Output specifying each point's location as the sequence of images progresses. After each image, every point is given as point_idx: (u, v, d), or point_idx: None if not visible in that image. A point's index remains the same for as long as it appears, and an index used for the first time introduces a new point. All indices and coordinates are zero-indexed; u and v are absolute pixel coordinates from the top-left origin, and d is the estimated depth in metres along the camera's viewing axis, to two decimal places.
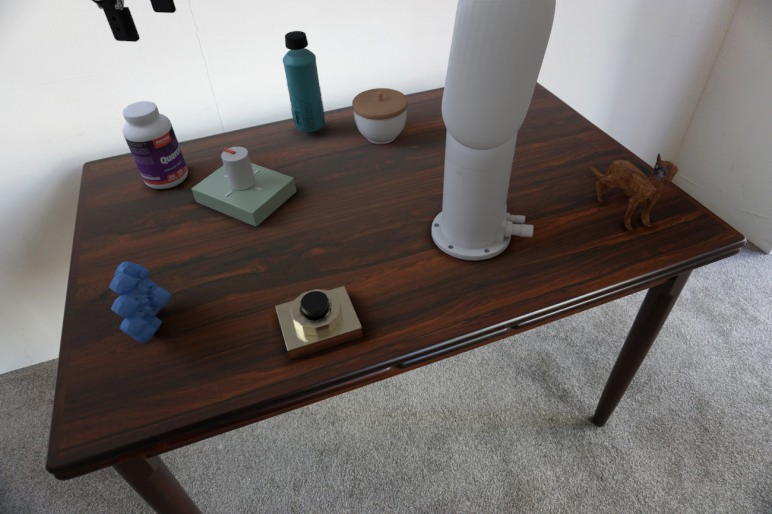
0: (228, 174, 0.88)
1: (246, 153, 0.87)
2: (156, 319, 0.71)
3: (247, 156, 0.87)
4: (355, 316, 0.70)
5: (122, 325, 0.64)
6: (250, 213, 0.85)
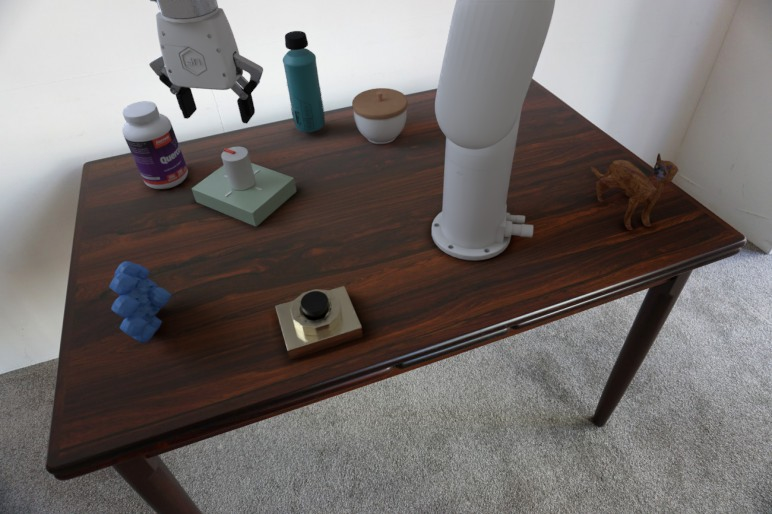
0: (228, 174, 0.88)
1: (246, 153, 0.87)
2: (156, 319, 0.71)
3: (247, 156, 0.87)
4: (355, 316, 0.70)
5: (122, 325, 0.64)
6: (250, 213, 0.85)
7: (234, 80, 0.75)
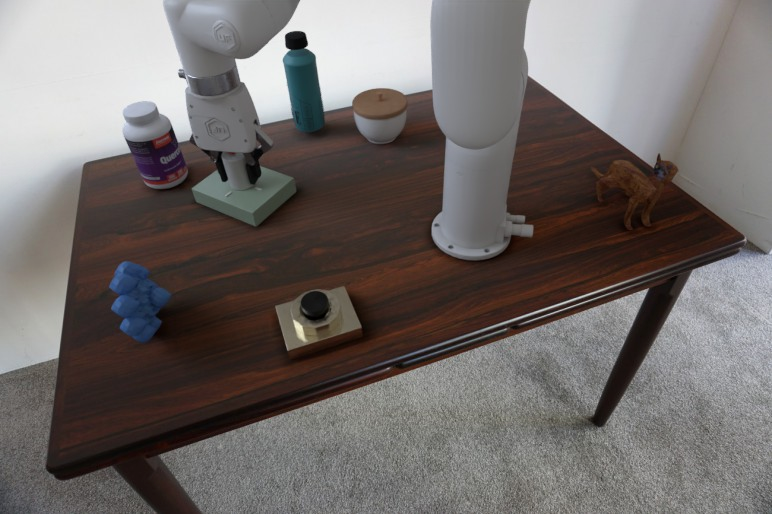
0: (228, 174, 0.88)
1: None
2: (156, 319, 0.71)
3: None
4: (355, 316, 0.70)
5: (122, 325, 0.64)
6: (250, 213, 0.85)
7: (254, 144, 0.82)
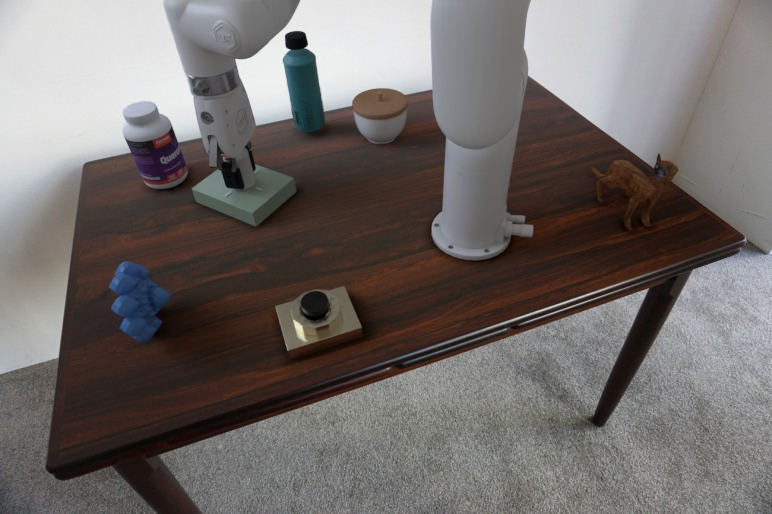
0: (246, 173, 0.88)
1: None
2: (156, 319, 0.71)
3: None
4: (355, 316, 0.70)
5: (122, 325, 0.64)
6: (250, 213, 0.85)
7: None
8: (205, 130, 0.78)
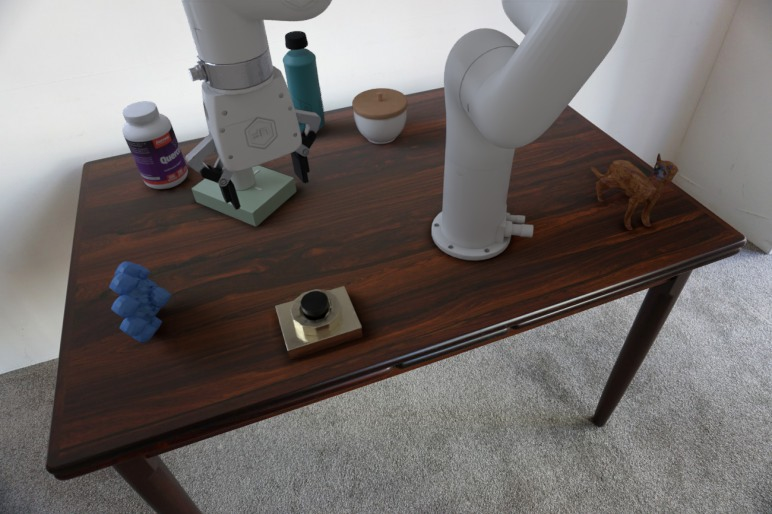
0: (246, 173, 0.88)
1: None
2: (156, 319, 0.71)
3: None
4: (355, 316, 0.70)
5: (122, 325, 0.64)
6: (250, 213, 0.85)
7: None
8: (207, 124, 0.60)
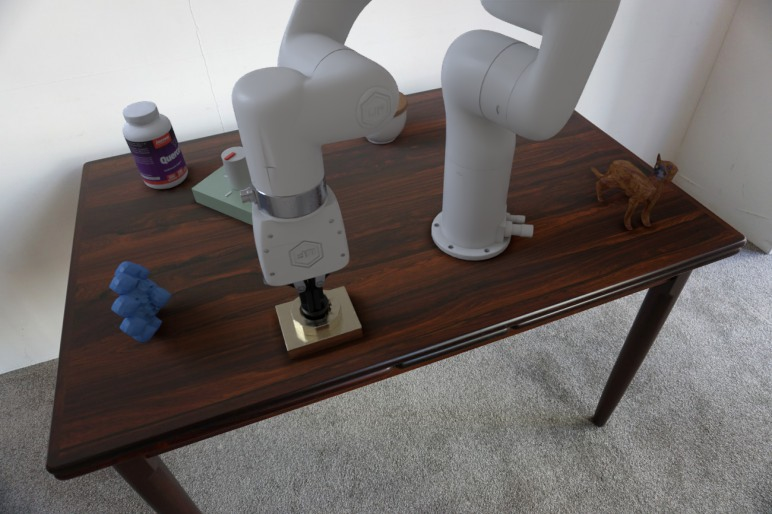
0: (246, 173, 0.88)
1: (237, 147, 0.88)
2: (156, 319, 0.71)
3: None
4: (355, 316, 0.70)
5: (122, 325, 0.64)
6: (250, 213, 0.85)
7: None
8: None
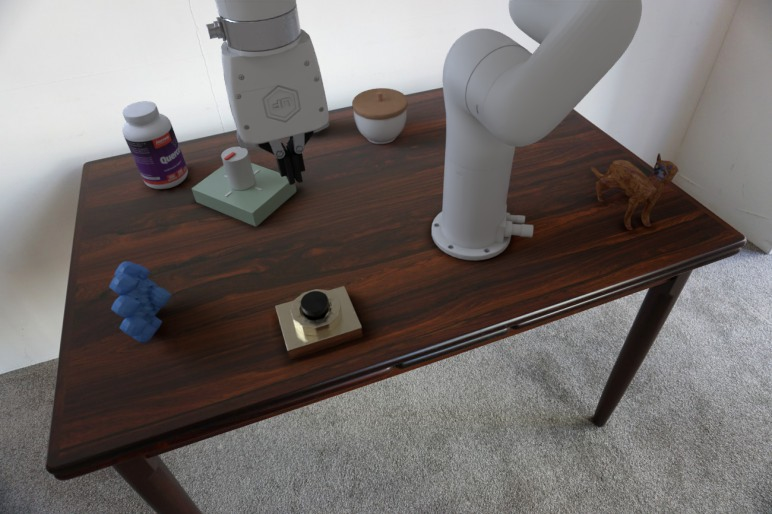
0: (246, 173, 0.88)
1: (237, 147, 0.88)
2: (156, 319, 0.71)
3: None
4: (355, 316, 0.70)
5: (122, 325, 0.64)
6: (250, 213, 0.85)
7: None
8: None
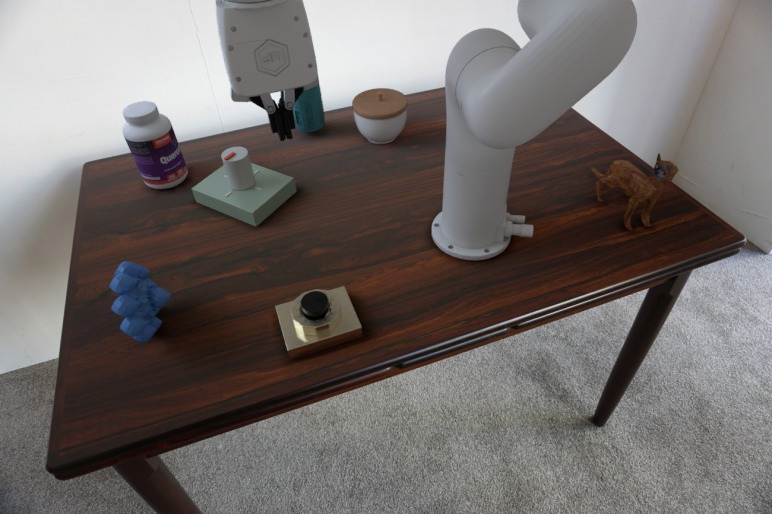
0: (246, 173, 0.88)
1: (237, 147, 0.88)
2: (156, 319, 0.71)
3: None
4: (355, 316, 0.70)
5: (122, 325, 0.64)
6: (250, 213, 0.85)
7: None
8: None
